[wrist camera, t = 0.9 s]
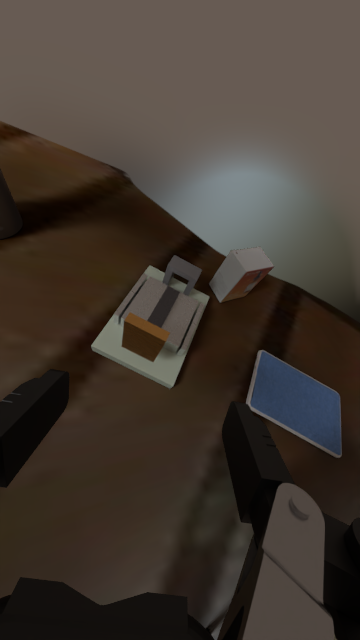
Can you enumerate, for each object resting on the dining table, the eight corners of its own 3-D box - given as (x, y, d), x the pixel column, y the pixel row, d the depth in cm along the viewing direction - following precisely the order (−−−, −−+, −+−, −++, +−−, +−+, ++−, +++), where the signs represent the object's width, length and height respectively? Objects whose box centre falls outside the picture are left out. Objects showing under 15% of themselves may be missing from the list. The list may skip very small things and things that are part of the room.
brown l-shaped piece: (153, 362, 28) (165, 341, 22) (121, 347, 28) (124, 320, 21) (185, 298, 36) (202, 266, 29) (160, 285, 35) (171, 249, 28)
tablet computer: (243, 407, 35) (247, 406, 34) (257, 349, 42) (261, 347, 41) (336, 459, 36) (343, 460, 35) (335, 393, 43) (341, 392, 41)
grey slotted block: (180, 356, 34) (185, 350, 31) (113, 322, 33) (113, 314, 31) (198, 312, 39) (204, 304, 37) (141, 283, 38) (143, 272, 36)
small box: (219, 303, 44) (245, 272, 36) (207, 283, 46) (230, 249, 37) (245, 296, 48) (275, 266, 39) (234, 278, 50) (260, 245, 41)
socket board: (170, 388, 33) (183, 378, 26) (92, 350, 32) (87, 330, 26) (205, 301, 43) (221, 280, 37) (148, 271, 43) (154, 244, 37)
